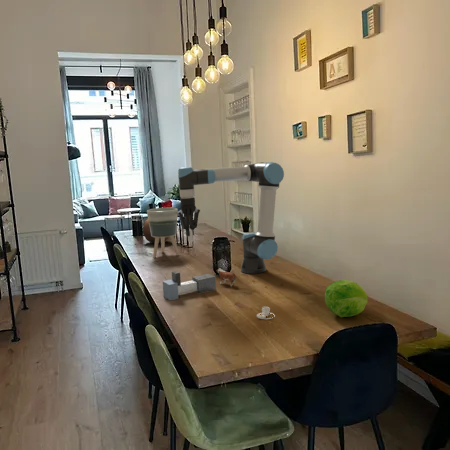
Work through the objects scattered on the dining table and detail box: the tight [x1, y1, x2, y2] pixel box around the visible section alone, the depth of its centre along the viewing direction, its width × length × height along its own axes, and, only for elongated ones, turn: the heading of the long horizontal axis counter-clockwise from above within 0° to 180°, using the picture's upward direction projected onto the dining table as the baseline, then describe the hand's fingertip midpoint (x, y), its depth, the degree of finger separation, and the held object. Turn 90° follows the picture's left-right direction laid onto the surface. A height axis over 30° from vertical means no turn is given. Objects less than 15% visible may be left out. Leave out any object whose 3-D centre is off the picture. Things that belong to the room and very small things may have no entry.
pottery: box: [142, 218, 169, 244], centre depth 360 cm, size 23×23×25 cm
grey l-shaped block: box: [171, 270, 198, 296], centre depth 223 cm, size 17×4×11 cm, turn 121°
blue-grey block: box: [162, 279, 179, 301], centre depth 220 cm, size 4×8×8 cm, turn 31°
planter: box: [146, 207, 180, 259], centre depth 314 cm, size 22×22×33 cm
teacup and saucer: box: [256, 306, 276, 320], centre depth 190 cm, size 9×8×4 cm
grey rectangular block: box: [191, 273, 217, 295], centre depth 230 cm, size 10×7×7 cm
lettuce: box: [324, 279, 369, 318], centre depth 187 cm, size 17×20×15 cm
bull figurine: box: [216, 268, 237, 287], centre depth 239 cm, size 4×13×8 cm, turn 45°
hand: (190, 241), depth 232 cm, fingers closed
